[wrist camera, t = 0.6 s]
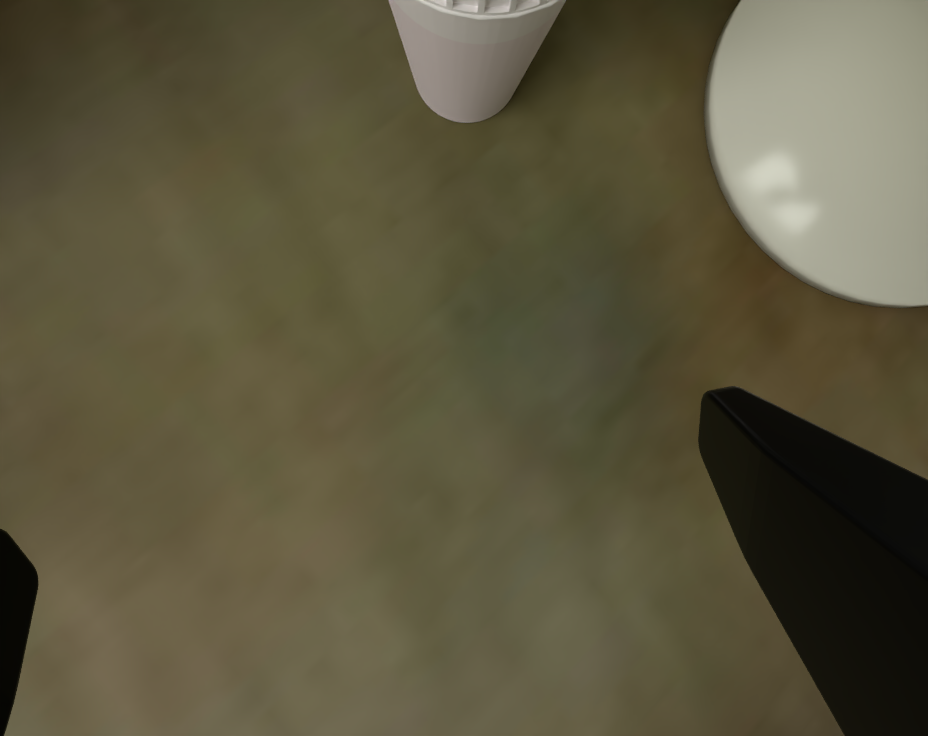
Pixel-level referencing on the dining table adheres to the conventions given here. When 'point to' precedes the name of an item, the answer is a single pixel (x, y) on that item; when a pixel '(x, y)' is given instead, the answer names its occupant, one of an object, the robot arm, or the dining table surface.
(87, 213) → the dining table surface
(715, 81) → the plate
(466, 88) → the smoothie
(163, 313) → the dining table surface
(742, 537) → the robot arm
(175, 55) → the dining table surface
